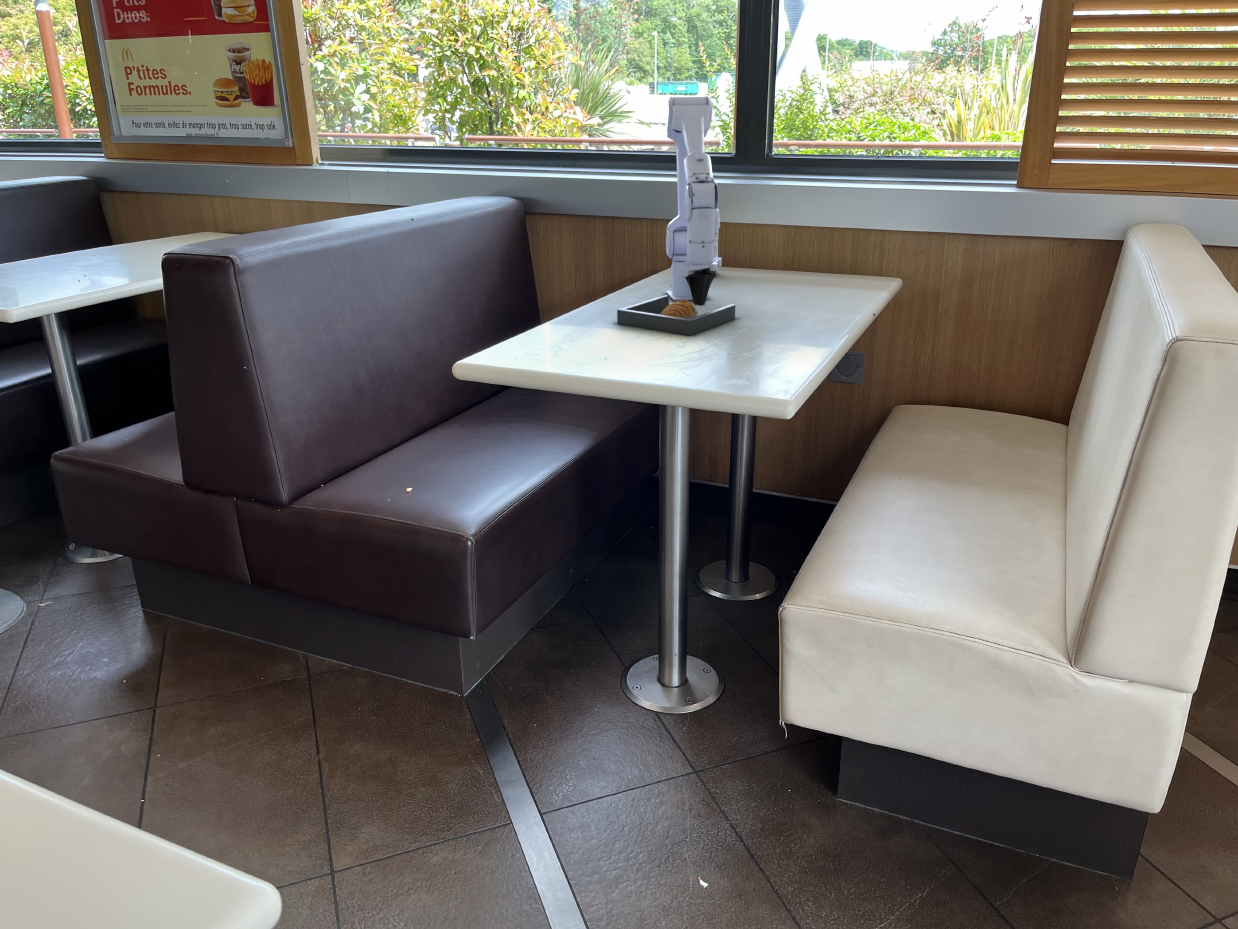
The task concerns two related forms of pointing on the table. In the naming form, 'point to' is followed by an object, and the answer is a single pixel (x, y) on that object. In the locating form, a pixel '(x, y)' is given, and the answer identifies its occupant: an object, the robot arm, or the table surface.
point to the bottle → (716, 236)
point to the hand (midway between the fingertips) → (699, 304)
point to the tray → (647, 318)
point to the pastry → (680, 309)
